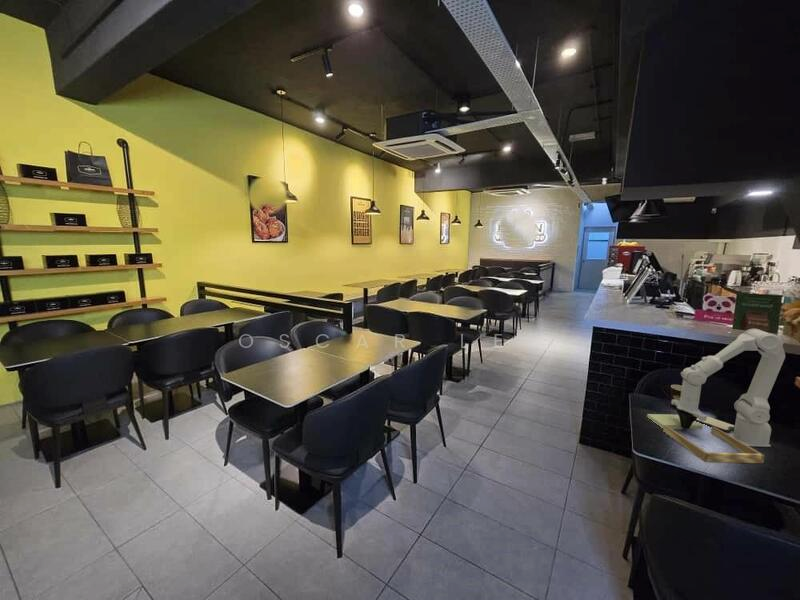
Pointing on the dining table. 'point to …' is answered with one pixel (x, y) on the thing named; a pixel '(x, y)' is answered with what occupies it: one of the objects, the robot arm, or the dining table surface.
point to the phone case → (717, 424)
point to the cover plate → (670, 421)
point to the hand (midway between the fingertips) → (685, 428)
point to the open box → (745, 457)
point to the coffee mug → (674, 394)
